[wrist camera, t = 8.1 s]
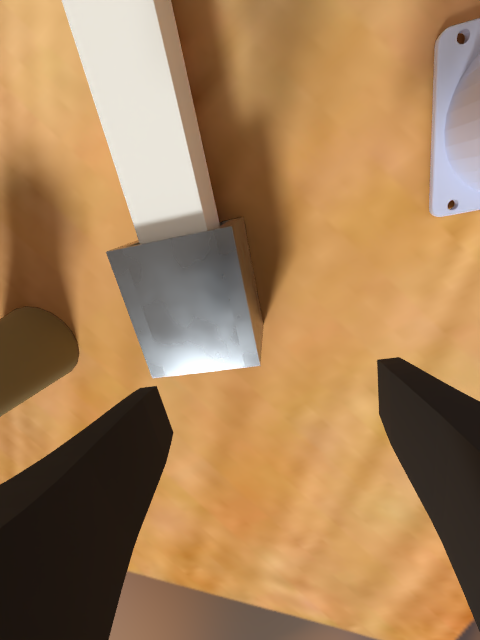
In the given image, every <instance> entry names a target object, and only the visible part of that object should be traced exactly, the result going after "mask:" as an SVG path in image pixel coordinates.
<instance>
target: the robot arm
mask: <svg viewBox="0 0 480 640" xmlns="http://www.w3.org/2000/svg"><path fill="white" fill-rule="evenodd" d="M458 33H462V34H463V35H464V37H465V41H464V43H463V44H459V43H458V42H457V35H458ZM451 200H453V201H454V206H453V208H452V209H450V210H449V209H448V207H447V206H448V203H449V202H450V201H451ZM475 210H480V18H478V19H474V20H471V21H467V22H464V23H460V24H457V25H453V26H450V27H448V28H446V29H445V30H444V31H443V32H442V33H441V34H440V35H439V36H438V38H437V40H436V43H435V50H434V80H433V109H432V138H431V167H430V197H429V211H430V213H431V214H432V215H433V216H436V217H443V216H448V215H454V214H459V213H464V212H470V211H475ZM377 365H378V393H379V415H380V417H381V420H382V423H383V425H384V428H385V431H386V433H387V436H388V438H389V441H390V443H391V446H392V447H393V449H394V451H395V453H396V455H397V457H398V459H399V461H400V463H401V465H402V467H403V468H404V470H405V472H406V474H407V476H408V478H409V480H410V482H411V483H412V485H413V487H414V489H415V491H416V493H417V495H418V496H419V498H420V500H421V502H422V504H423V506H424V508H425V510H426V511H427V513H428V515H429V517H430V519H431V521H432V523H433V525H434V527H435V529H436V531H437V533H438V535H439V537H440V539H441V541H442V543H443V546H444V548H445V550H446V553H447V555H448V557H449V560H450V562H451V564H452V567H453V569H454V571H455V574H456V576H457V578H458V581H459V583H460V585H461V588H462V590H463V592H464V595H465V597H466V600H467V602H468V605H469V607H470V609H471V612H472V614H473V617H474V619H475V621H476V624H477V626H478V629H479V631H480V401H478V400H476V399H474V398H472V397H470V396H468V395H466V394H464V393H462V392H460V391H459V390H457V389H455V388H453V387H451V386H449V385H448V384H446V383H444V382H442V381H440V380H439V379H437V378H435V377H433V376H432V375H430V374H428V373H426V372H424V371H423V370H421V369H419V368H418V367H416V366H414V365H412V364H410V363H409V362H407V361H405V360H403V359H401V358H399V357H397V358H389V359H381V360H377ZM172 436H173V430H172V428H171V425H170V422H169V419H168V417H167V414H166V411H165V408H164V405H163V403H162V400H161V397H160V394H159V392H158V389H157V386H154V387H145V388H140V389H138V390H136V391H135V392H133V393H132V394H130V395H129V396H127V397H126V398H125V399H123V400H122V401H121V402H119V403H118V404H117V405H115V406H114V407H113V408H111V409H110V410H109V411H107V412H106V413H105V414H104V415H102V416H101V417H100V418H98V419H97V420H96V421H94V422H93V423H92V424H90V425H89V426H88V427H86V428H85V429H84V430H82V431H81V432H79V433H78V434H77V435H75V436H74V437H73V438H71V439H70V440H68V441H67V442H66V443H64V444H63V445H61V446H60V447H59V448H57V449H56V450H54V451H53V452H51V453H50V454H49V455H47V456H46V457H44V458H43V459H41V460H40V461H38V462H36V463H35V464H33V465H32V466H30V467H29V468H27V469H25V470H24V471H22V472H21V473H19V474H17V475H16V476H14V477H13V478H11V479H9V480H8V481H6V482H4V483H2V484H1V485H0V640H108V639H109V635H110V632H111V627H112V624H113V620H114V616H115V613H116V608H117V605H118V601H119V597H120V594H121V589H122V586H123V583H124V579H125V576H126V572H127V569H128V566H129V562H130V559H131V555H132V552H133V548H134V546H135V543H136V540H137V537H138V534H139V531H140V529H141V526H142V524H143V521H144V518H145V516H146V513H147V511H148V508H149V506H150V503H151V500H152V498H153V495H154V493H155V490H156V488H157V485H158V482H159V480H160V477H161V475H162V472H163V469H164V467H165V464H166V461H167V457H168V453H169V449H170V445H171V441H172Z"/></svg>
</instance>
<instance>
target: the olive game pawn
mask: <svg viewBox="0 0 480 640" xmlns="http://www.w3.org/2000/svg"><path fill="white" fill-rule="evenodd" d="M78 357H79V350H78V344H77V341H76V339H75V337H74V335H73V333H72V331H71V330H70V329H69V328H68V327H67V326H66V324H65V323H64V322H63V321H62V320H60V319H59V318H58V317H56V316H55V315H53V314H52V313H50V312H47V311H45V310H43V309H40V308H34V307H23V308H18V309H15V310H14V311H12V312H10V313H9V314H7V315H6V316H4V317H3V318H1V319H0V416H2V415H3V414H5V413H6V412H8V411H10V410H11V409H13V408H14V407H16V406H17V405H19V404H21V403H22V402H24V401H25V400H27V399H28V398H30V397H32V396H33V395H35V394H36V393H38V392H39V391H41V390H43V389H44V388H46V387H47V386H49V385H50V384H52V383H54V382H55V381H57V380H58V379H60V378H61V377H63V376H65V375H66V374H68V373H69V372H71V371H72V370H73V368H74V367H75V366H76V364H77V362H78Z"/></svg>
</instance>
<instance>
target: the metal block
mask: <svg viewBox="0 0 480 640" xmlns="http://www.w3.org/2000/svg"><path fill="white" fill-rule="evenodd" d="M219 223H220V226H219V227H218V228H216V229H212V230H207V231H202V232H197V233H192V234H188V235H183V236H178V237H173V238H168V239H163V240H158V241H153V242H148V243H143V244H140V243H139V240H138V241H135V242H132V243H129V244H127V245H124V246H121V247H118V248H115V249H112V250H110V251H107V252H106V253H107V256H108V259H109V261H110V264H111V267H112V270H113V272H114V275H115V278H116V280H117V283H118V286H119V289H120V291H121V294H122V297H123V300H124V302H125V305H126V308H127V310H128V313H129V316H130V319H131V321H132V324H133V327H134V330H135V332H136V335H137V338H138V340H139V343H140V346H141V349H142V351H143V354H144V357H145V360H146V362H147V365H148V368H149V370H150V373H151V376H152V378H160V377H168V376H177V375H185V374H194V373H202V372H211V371H219V370H228V369H236V368H245V367H253V366H260V361H261V349H262V336H263V319H262V314H261V309H260V303H259V298H258V293H257V287H256V282H255V277H254V271H253V266H252V261H251V255H250V250H249V245H248V239H247V234H246V229H245V223H244V218H243V217H241V218H236V219H231V220H226V221H222V222H219Z"/></svg>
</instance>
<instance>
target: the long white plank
mask: <svg viewBox="0 0 480 640" xmlns="http://www.w3.org/2000/svg"><path fill="white" fill-rule="evenodd" d="M62 3H63V6H64V9H65V12H66V15H67V19H68V22H69V25H70V28H71V31H72V34H73V37H74V40H75V43H76V47H77V50H78V53H79V56H80V59H81V62H82V65H83V68H84V71H85V75H86V78H87V81H88V84H89V87H90V90H91V93H92V96H93V99H94V103H95V106H96V109H97V112H98V115H99V118H100V121H101V124H102V127H103V131H104V134H105V137H106V140H107V143H108V146H109V149H110V152H111V155H112V159H113V162H114V165H115V168H116V171H117V174H118V177H119V180H120V183H121V187H122V190H123V193H124V196H125V199H126V202H127V205H128V208H129V212H130V215H131V218H132V221H133V224H134V227H135V230H136V233H137V236H138V240H139V243H140V244H143V243H148V242H153V241H158V240H163V239H168V238H173V237H178V236H183V235H188V234H192V233H197V232H202V231H207V230H212V229H216V228H218V227H219V226H220V223H219V219H218V214H217V209H216V205H215V200H214V196H213V191H212V186H211V182H210V177H209V173H208V168H207V163H206V159H205V154H204V150H203V145H202V140H201V136H200V131H199V127H198V122H197V117H196V113H195V108H194V104H193V99H192V94H191V90H190V85H189V81H188V76H187V71H186V67H185V62H184V58H183V53H182V48H181V44H180V39H179V35H178V30H177V25H176V21H175V16H174V12H173V7H172V2H171V0H62Z"/></svg>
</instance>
